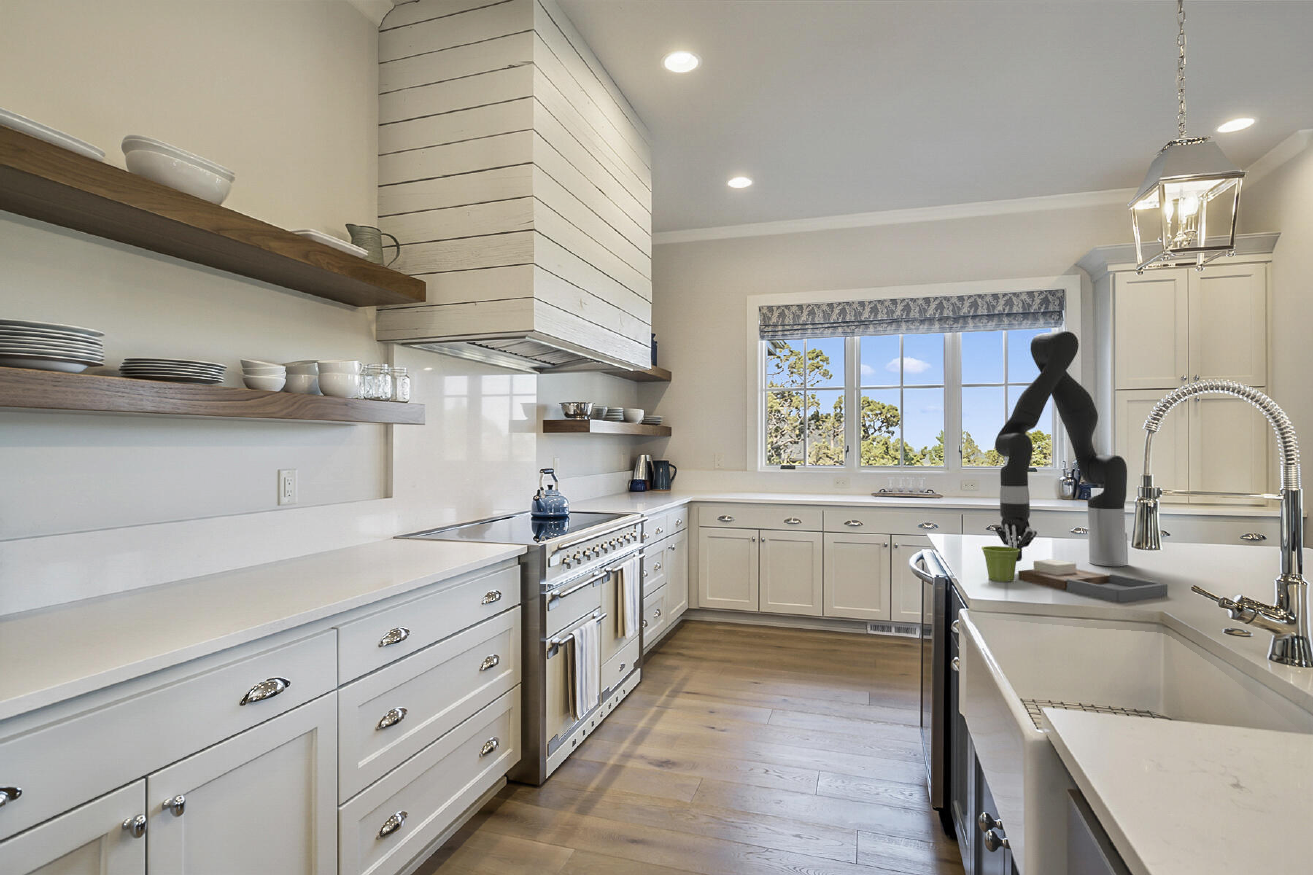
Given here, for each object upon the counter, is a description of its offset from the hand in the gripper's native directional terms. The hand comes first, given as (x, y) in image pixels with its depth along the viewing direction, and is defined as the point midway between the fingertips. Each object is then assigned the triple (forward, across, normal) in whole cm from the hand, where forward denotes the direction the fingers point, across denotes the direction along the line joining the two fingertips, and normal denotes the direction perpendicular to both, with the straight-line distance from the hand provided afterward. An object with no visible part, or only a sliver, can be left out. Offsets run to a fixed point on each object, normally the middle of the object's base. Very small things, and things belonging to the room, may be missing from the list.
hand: (1016, 560), depth 188 cm
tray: (+3, -29, 0) cm, 29 cm away
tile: (+1, -12, 0) cm, 12 cm away
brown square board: (+3, -15, 0) cm, 15 cm away
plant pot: (+4, -6, +12) cm, 14 cm away
